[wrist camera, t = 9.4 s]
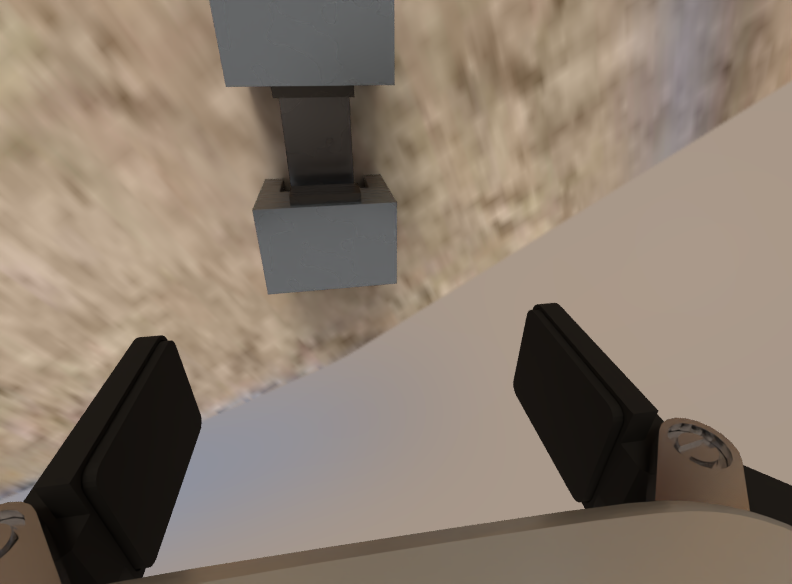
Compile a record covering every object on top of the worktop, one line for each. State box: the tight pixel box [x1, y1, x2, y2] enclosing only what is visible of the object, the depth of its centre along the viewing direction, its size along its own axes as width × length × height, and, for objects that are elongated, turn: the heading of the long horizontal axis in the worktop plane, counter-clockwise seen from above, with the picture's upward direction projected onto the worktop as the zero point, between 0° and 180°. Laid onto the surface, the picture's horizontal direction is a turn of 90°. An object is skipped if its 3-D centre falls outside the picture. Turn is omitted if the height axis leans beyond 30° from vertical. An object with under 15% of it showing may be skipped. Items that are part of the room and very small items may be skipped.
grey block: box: [252, 174, 397, 294], centre depth 20 cm, size 6×4×5 cm
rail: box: [209, 0, 394, 186], centre depth 18 cm, size 6×12×5 cm, turn 0°
